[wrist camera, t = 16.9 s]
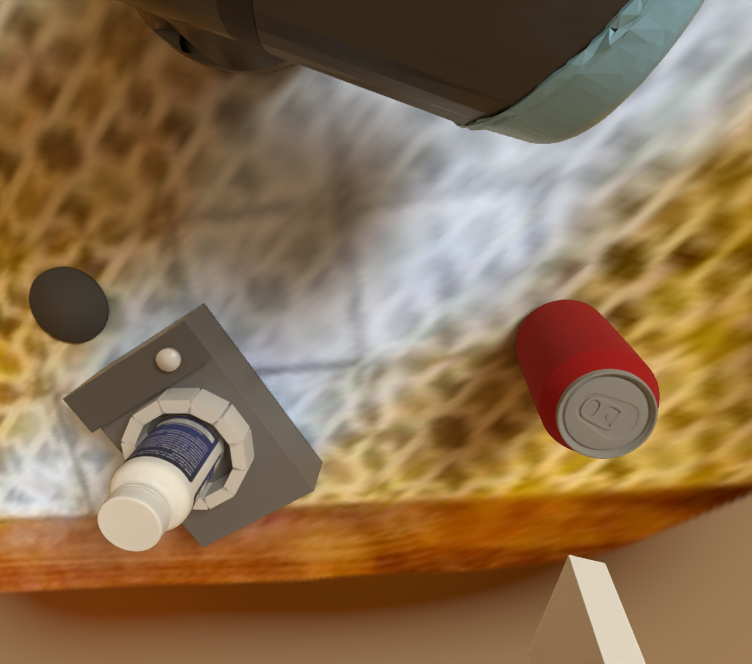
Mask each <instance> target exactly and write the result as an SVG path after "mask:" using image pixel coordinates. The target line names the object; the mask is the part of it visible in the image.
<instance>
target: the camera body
mask: <svg viewBox="0 0 752 664" xmlns="http://www.w3.org/2000/svg"><path fill="white" fill-rule="evenodd" d="M64 401H65V402H66V403H67V404H68V405H69V406H70V408H71V409H72V410H73V411H74V412H75V413H76V415H77V416H78V417H79V418H80V419H81V420H82V422H83V423H84V424H85V425H86V426H87V427H88V429H89V430H90V431H91V432H92V433H93V432H94V431H96V430H97V429H99V428H101V429H102V430H103V431H104V433H105V434H106V435H107V436H108V437H109V438H110V440H111V441H112V442H113V443H114V444H115V445H116V447H117V448H118V449H119V450H120V451H121V452H122V454H123V455H124V460H125V461H126V459H127V458H128V457H129V456H130V455H131V454H132V453H133V452H134V450H135V449H136V448H137V447H138V446H139V445H140V443H141V442H142V441H143V440H144V439H145V438H146V437H147V435H148V434H149V433H150V432H151V431H152V430H153V429H154V427H155V426H156V425H157V424H158V423H159V422H160V421H161V420H162V419H163V418H165V417H166V416H168V415H170V414H172V413H190V414H192V415H194V416H196V417H198V418H200V419H202V420H204V421H206V422H208V423H210V424H212V425H214V426H215V428H216V429H217V430H218V431H219V433H220V434H221V435H222V437H223V440H224V454H223V457H222V460H221V462H220V464H219V466H218V467H217V469H216V470H215V472H214V474H213V476H212V477H211V479H210V480H209V482H208V484H207V485H206V487H205V489H204V490H203V492H202V494H201V495H200V497H199V499H198V500H197V502H196V504H195V505H194V507H193V509H192V510H191V512H190V513H189V515H188V516H187V518H186V519H185V520H184V521H183V522H182V524H183V525H184V526H185V528H186V529H187V530H188V531H189V532H190V534H191V535H192V536H193V537H194V538H195V539H196V541H197V542H198V543H199V544H200V545H201V546H202V548H204V547H206V546H207V545H209V544H211V543H213V542H215V541H217V540H219V539H221V538H223V537H225V536H227V535H229V534H231V533H233V532H235V531H237V530H239V529H241V528H242V527H244V526H246V525H248V524H250V523H252V522H254V521H256V520H258V519H260V518H262V517H264V516H266V515H268V514H270V513H272V512H274V511H276V510H277V509H279V508H281V507H283V506H285V505H287V504H289V503H291V502H293V501H295V500H297V499H299V498H301V497H303V496H305V495H307V494H309V493H311V492H312V491H314V489H315V485H316V482H317V478H318V475H319V472H320V468H321V465H322V461H321V460H320V458H319V457H318V456H317V454H316V453H315V452H314V450H313V449H312V447H311V446H310V445H309V443H308V442H307V441H306V439H305V438H304V437H303V435H302V434H301V433H300V431H299V430H298V429H297V427H296V426H295V425H294V423H293V422H292V421H291V419H290V418H289V417H288V415H287V414H286V413H285V411H284V410H283V409H282V407H281V406H280V405H279V403H278V402H277V400H276V399H275V398H274V396H273V395H272V394H271V392H270V391H269V390H268V388H267V387H266V386H265V384H264V383H263V382H262V380H261V379H260V378H259V376H258V375H257V374H256V372H255V371H254V370H253V368H252V367H251V366H250V364H249V363H248V362H247V360H246V359H245V357H244V356H243V355H242V353H241V352H240V351H239V349H238V348H237V347H236V345H235V344H234V343H233V341H232V340H231V339H230V337H229V336H228V335H227V333H226V332H225V331H224V329H223V328H222V327H221V325H220V324H219V323H218V321H217V320H216V319H215V317H214V316H213V314H212V313H211V312H210V310H209V309H208V308H207V306H206V305H205V304H202V305H201V306H199V307H198V308H196V309H194V310H193V311H191V312H190V313H188V314H187V315H185V316H184V317H182V318H181V319H179V320H177V321H176V322H174V323H173V324H171V325H170V326H168V327H167V328H165V329H163V330H162V331H160V332H159V333H157V334H156V335H154V336H153V337H151V338H150V339H148V340H146V341H145V342H143V343H142V344H140V345H139V346H137V347H136V348H134V349H133V350H131V351H129V352H128V353H126V354H125V355H123V356H122V357H120V358H119V359H117V360H115V361H114V362H112V363H111V364H109V365H108V366H106V367H105V368H103V369H102V370H100V371H99V372H97V373H96V374H95V375H93V376H92V377H91V378H89V379H88V380H87V381H86V382H84V383H83V384H82V385H80V386H79V387H78V388H77V389H75V390H74V391H73V392H71V393H70V394H69V395H68V396H66V397H65V398H64Z"/></svg>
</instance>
